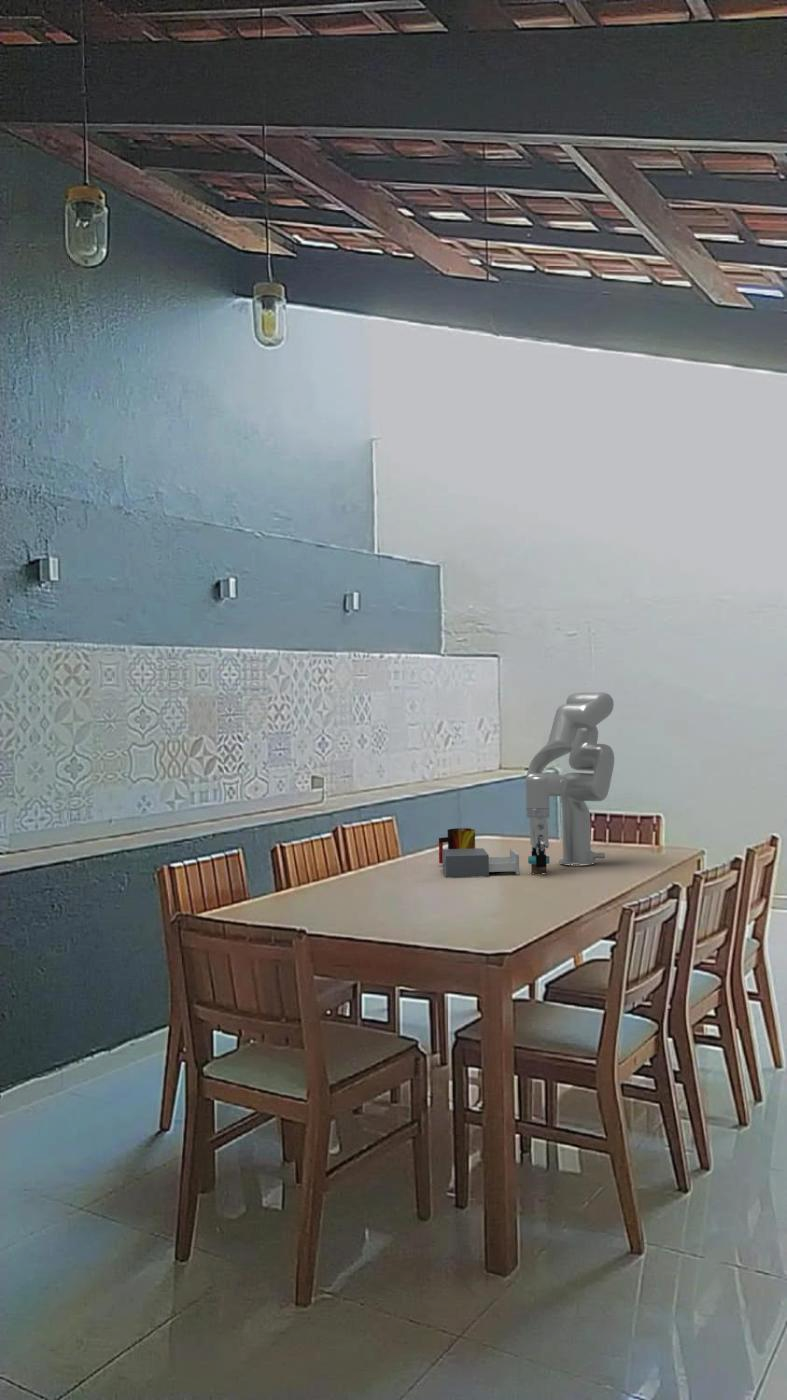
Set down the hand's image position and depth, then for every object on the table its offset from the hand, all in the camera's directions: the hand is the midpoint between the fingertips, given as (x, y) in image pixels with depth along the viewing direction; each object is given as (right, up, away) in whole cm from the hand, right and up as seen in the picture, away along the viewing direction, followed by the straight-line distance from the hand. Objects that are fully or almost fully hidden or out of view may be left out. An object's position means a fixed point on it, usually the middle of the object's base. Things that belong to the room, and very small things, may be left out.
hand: (538, 864), depth 383 cm
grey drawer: (-14, -3, +5) cm, 15 cm away
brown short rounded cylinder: (0, -3, 0) cm, 3 cm away
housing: (-24, -3, +4) cm, 25 cm away
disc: (0, +1, 0) cm, 1 cm away
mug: (-25, -4, +24) cm, 35 cm away
